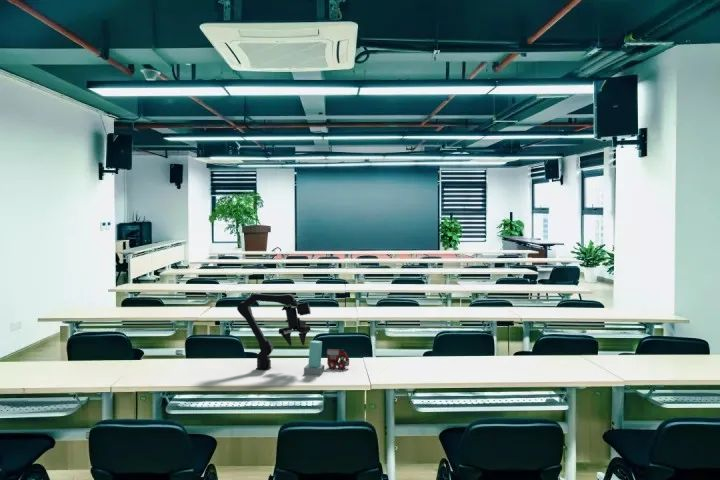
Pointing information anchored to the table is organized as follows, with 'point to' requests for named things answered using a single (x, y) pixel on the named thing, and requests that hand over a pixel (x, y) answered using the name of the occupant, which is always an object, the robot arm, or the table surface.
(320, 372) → the base brick
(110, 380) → the table surface
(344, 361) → the toy fire truck
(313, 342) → the teal block
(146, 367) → the table surface
